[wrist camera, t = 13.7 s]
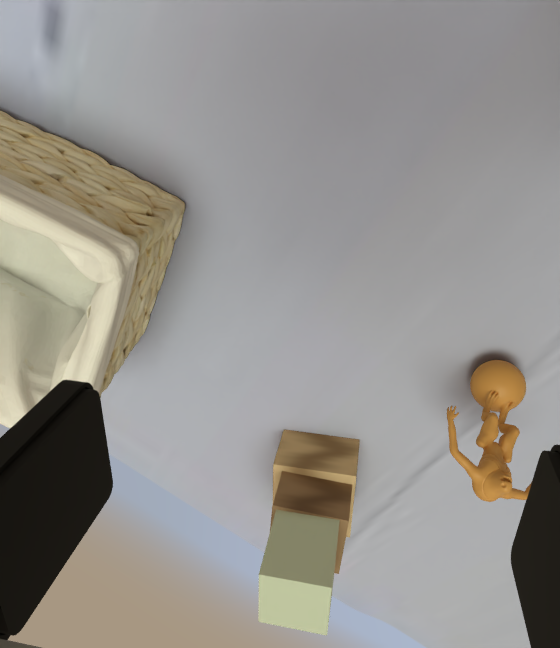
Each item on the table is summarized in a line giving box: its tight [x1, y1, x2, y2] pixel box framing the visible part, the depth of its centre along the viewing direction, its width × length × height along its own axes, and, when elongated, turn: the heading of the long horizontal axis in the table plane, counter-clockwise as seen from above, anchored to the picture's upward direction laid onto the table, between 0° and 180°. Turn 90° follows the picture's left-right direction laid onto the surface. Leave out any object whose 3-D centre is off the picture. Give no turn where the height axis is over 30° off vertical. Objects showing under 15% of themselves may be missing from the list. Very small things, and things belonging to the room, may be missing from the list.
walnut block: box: [270, 471, 352, 574], centre depth 44 cm, size 6×6×4 cm
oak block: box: [273, 430, 360, 537], centre depth 48 cm, size 7×7×5 cm
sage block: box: [258, 510, 340, 635], centre depth 39 cm, size 5×5×6 cm
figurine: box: [447, 360, 532, 502], centre depth 37 cm, size 8×6×12 cm
